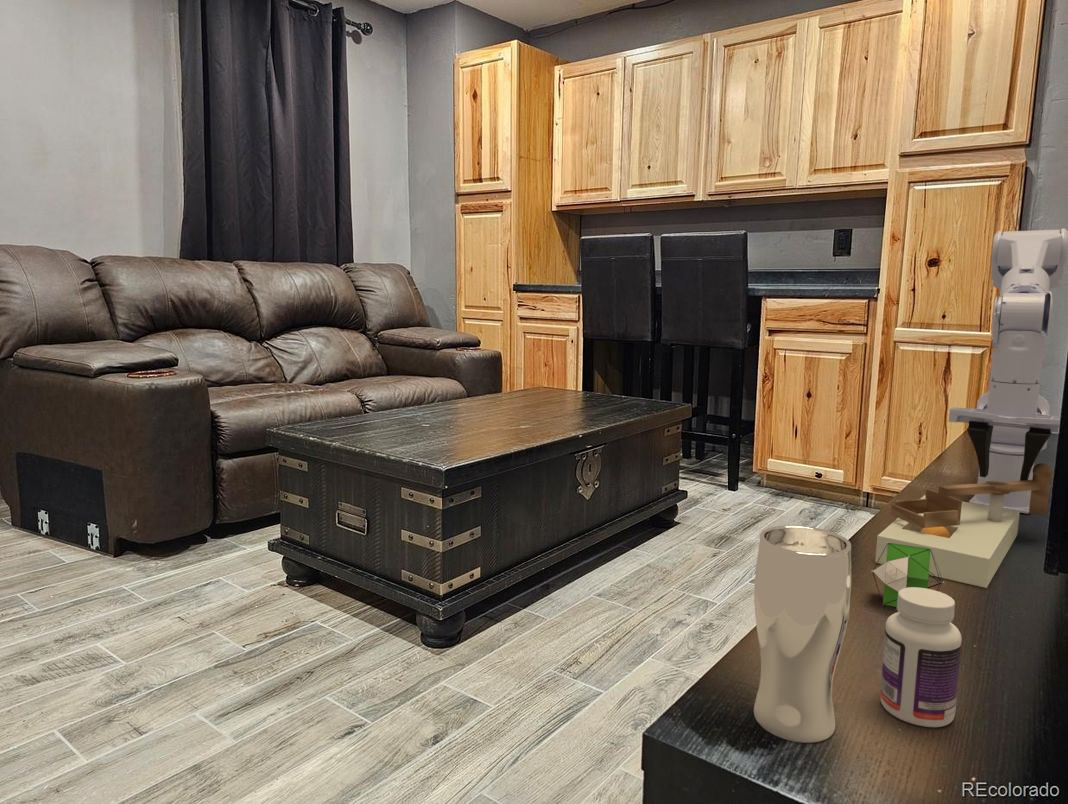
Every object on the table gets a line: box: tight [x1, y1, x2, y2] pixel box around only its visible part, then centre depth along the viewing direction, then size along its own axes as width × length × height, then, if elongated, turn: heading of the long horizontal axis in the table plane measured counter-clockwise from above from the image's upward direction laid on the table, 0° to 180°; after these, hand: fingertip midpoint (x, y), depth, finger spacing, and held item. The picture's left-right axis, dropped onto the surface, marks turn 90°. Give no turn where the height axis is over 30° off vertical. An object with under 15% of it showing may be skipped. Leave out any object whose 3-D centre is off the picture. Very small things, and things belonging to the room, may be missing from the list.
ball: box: [920, 527, 951, 538], centre depth 93 cm, size 4×4×4 cm
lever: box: [890, 462, 1054, 528], centre depth 94 cm, size 22×6×7 cm, turn 103°
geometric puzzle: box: [870, 542, 945, 608], centre depth 77 cm, size 7×7×8 cm
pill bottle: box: [880, 587, 962, 728], centre depth 57 cm, size 5×5×10 cm
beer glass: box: [753, 525, 852, 744], centre depth 56 cm, size 7×7×15 cm
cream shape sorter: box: [875, 493, 1020, 589], centre depth 94 cm, size 24×12×7 cm, turn 139°
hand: (1003, 478), depth 99 cm, fingers open, 4 cm apart
